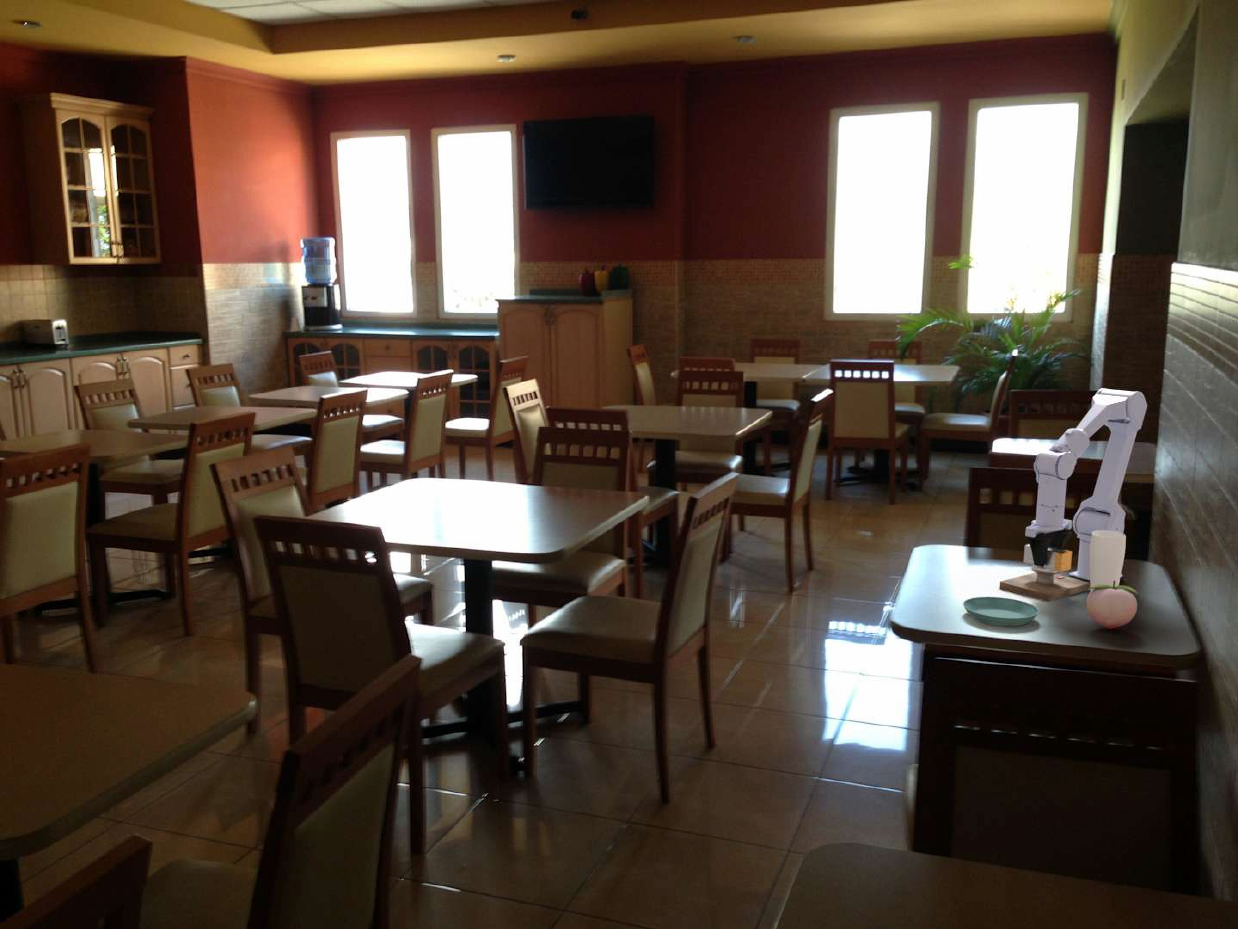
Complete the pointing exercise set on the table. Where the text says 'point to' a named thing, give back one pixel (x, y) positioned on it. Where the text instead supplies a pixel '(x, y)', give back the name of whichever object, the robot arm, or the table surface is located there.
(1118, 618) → the decorative fruit
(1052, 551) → the grey and orange block
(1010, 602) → the saucer
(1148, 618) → the table surface
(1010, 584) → the mount plate
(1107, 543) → the drinking glass
